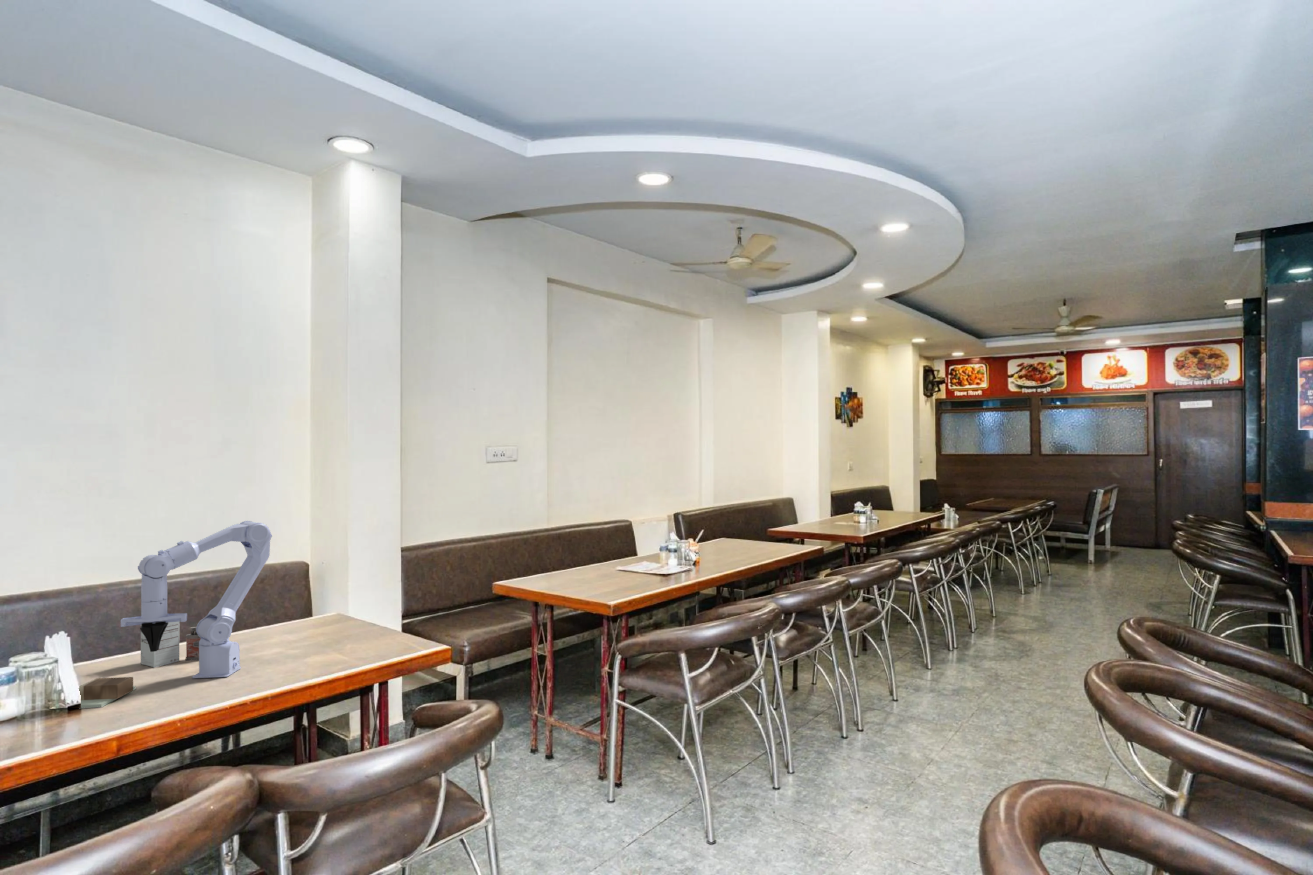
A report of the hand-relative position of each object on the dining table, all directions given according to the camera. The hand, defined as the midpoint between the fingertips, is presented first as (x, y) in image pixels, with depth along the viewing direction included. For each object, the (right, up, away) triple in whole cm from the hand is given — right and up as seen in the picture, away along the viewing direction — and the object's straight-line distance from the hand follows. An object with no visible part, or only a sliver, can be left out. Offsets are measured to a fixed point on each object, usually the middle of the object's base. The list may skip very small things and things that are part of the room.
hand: (154, 650), depth 185 cm
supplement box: (-14, -11, +22) cm, 28 cm away
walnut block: (-2, -7, -7) cm, 11 cm away
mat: (-10, -10, -8) cm, 16 cm away
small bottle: (-4, -11, +26) cm, 28 cm away
